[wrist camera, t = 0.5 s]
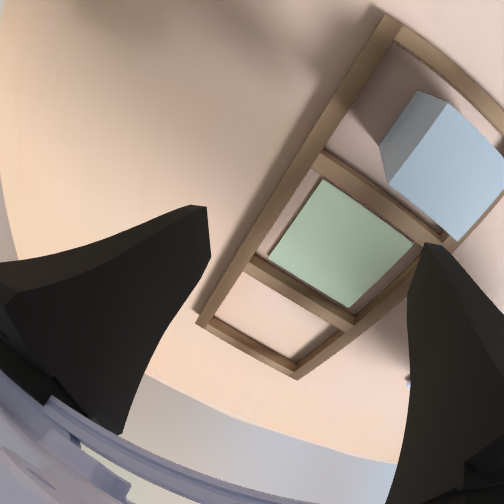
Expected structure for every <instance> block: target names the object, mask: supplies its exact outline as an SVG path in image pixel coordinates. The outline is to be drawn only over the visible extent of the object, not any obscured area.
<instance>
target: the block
mask: <svg viewBox="0 0 504 504" xmlns="http://www.w3.org/2000/svg"><path fill="white" fill-rule="evenodd" d="M379 150H380V154H381V158H382V162H383V166H384V170H385V174H386V178H387V183H388V185H390V186H391V187H392V188H393V189H395V190H396V191H397V192H399V193H400V194H401V195H403V196H404V197H405V198H406V199H408V200H409V201H410V202H412V203H413V204H414V205H415V206H416V207H418V208H419V209H420V210H421V211H423V212H424V213H425V214H426V215H427V216H429V217H430V218H431V219H432V220H433V221H435V222H436V223H437V224H438V225H439V226H440V227H442V228H443V229H444V230H445V231H446V232H447V233H448V234H450V235H451V236H452V237H453V238H454V239H455V240H456V241H457V242H458V241H459V240H460V238H461V237H462V236H463V235H464V234H465V233H466V232H467V231H468V230H469V229H470V228H471V227H472V225H473V224H474V223H475V222H476V221H477V220H478V219H479V218H480V217H481V215H482V214H483V213H484V212H485V211H486V210H487V208H488V207H489V206H490V205H491V204H492V203H493V201H494V200H495V199H496V198H497V197H498V195H499V194H500V193H501V192H502V190H503V189H504V157H503V156H502V155H501V154H500V153H499V152H498V151H497V150H496V149H495V147H494V146H493V145H492V144H491V143H490V142H489V141H488V140H487V139H486V138H485V137H484V136H483V135H482V134H481V133H480V132H479V131H478V130H477V129H476V128H475V127H474V126H473V125H472V124H471V123H470V122H469V121H468V120H467V119H466V118H465V117H464V116H463V115H462V114H460V113H459V112H458V111H457V110H456V109H455V108H454V107H453V106H452V105H450V104H449V103H448V102H446V101H443V100H441V99H439V98H436V97H434V96H431V95H429V94H426V93H424V92H421V91H419V90H417V91H416V93H415V94H414V96H413V97H412V99H411V100H410V102H409V103H408V104H407V106H406V107H405V109H404V110H403V112H402V113H401V115H400V116H399V117H398V119H397V120H396V122H395V123H394V125H393V126H392V127H391V129H390V130H389V132H388V133H387V134H386V136H385V137H384V139H383V140H382V141H381V143H380V144H379Z"/></svg>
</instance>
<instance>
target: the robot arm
mask: <svg viewBox="0 0 504 504" xmlns="http://www.w3.org/2000/svg"><path fill="white" fill-rule="evenodd" d="M210 258H211V249H210V239H209V228H208V218H207V207H204V206H196V205H188V206H184V207H181V208H178V209H176V210H173V211H171V212H168V213H166V214H163V215H161V216H159V217H156V218H154V219H152V220H149V221H147V222H145V223H143V224H140V225H138V226H135V227H133V228H130V229H128V230H126V231H123V232H121V233H118V234H116V235H113V236H111V237H108V238H106V239H103V240H100V241H97V242H94V243H91V244H88V245H85V246H82V247H78V248H74V249H71V250H67V251H63V252H60V253H56V254H52V255H47V256H42V257H37V258H31V259H26V260H19V261H10V262H1V263H0V504H135V503H133V502H132V501H130V500H128V499H126V495H127V493H128V492H129V490H130V488H131V484H130V483H129V482H127V481H126V480H124V479H123V478H121V477H119V476H118V475H116V474H115V473H113V472H112V471H110V470H109V469H108V468H106V467H105V466H104V465H102V464H101V463H100V462H99V461H97V460H96V459H94V458H93V457H91V456H90V455H88V454H87V453H85V452H84V451H83V450H81V445H80V443H82V444H83V445H85V446H86V447H88V448H90V449H91V450H93V451H95V452H96V453H98V454H99V455H101V456H103V457H104V458H106V459H108V460H109V461H111V462H113V463H115V464H116V465H118V466H120V467H122V468H123V469H126V470H127V471H129V472H131V473H133V474H135V475H137V476H139V477H141V478H143V479H145V480H147V481H149V482H151V483H153V484H155V485H157V486H159V487H162V488H164V489H166V490H169V491H171V492H173V493H175V494H178V495H180V496H183V497H185V498H188V499H190V500H193V501H195V502H198V503H201V504H316V503H311V502H305V501H300V500H294V499H290V498H285V497H280V496H276V495H271V494H268V493H264V492H260V491H256V490H252V489H248V488H245V487H242V486H238V485H235V484H232V483H228V482H225V481H222V480H219V479H216V478H213V477H210V476H207V475H205V474H202V473H199V472H197V471H194V470H191V469H189V468H186V467H183V466H181V465H179V464H176V463H173V462H171V461H169V460H167V459H165V458H162V457H160V456H158V455H156V454H153V453H151V452H149V451H147V450H145V449H143V448H141V447H139V446H137V445H134V444H133V443H131V442H129V441H127V440H125V439H123V438H121V437H119V436H117V435H119V434H122V432H123V429H124V425H125V422H126V419H127V416H128V413H129V410H130V407H131V405H132V402H133V399H134V396H135V394H136V392H137V389H138V387H139V384H140V382H141V379H142V377H143V374H144V372H145V370H146V368H147V366H148V364H149V361H150V359H151V357H152V355H153V353H154V351H155V349H156V347H157V345H158V343H159V341H160V339H161V337H162V336H163V334H164V332H165V331H166V329H167V327H168V326H169V324H170V323H171V321H172V320H173V318H174V317H175V315H176V314H177V312H178V311H179V310H180V308H181V307H182V305H183V304H184V302H185V301H186V299H187V298H188V297H189V295H190V294H191V292H192V291H193V289H194V288H195V286H196V285H197V283H198V282H199V280H200V279H201V277H202V275H203V273H204V271H205V269H206V267H207V265H208V262H209V260H210ZM407 329H408V342H409V357H410V380H409V381H408V382H407V387H408V388H410V397H409V406H408V414H407V421H406V427H405V433H404V438H403V444H402V448H401V452H400V457H399V461H398V465H397V469H396V472H395V476H394V479H393V482H392V485H391V488H390V491H389V494H388V497H387V500H386V503H385V504H504V315H503V313H502V312H501V311H500V310H499V309H498V308H497V307H496V306H495V305H494V304H493V302H492V301H491V300H490V299H489V298H488V297H487V296H486V295H485V293H484V292H483V291H482V290H481V289H480V288H479V286H478V285H477V284H476V283H475V282H474V280H473V279H472V278H471V277H470V276H469V275H468V273H467V272H466V271H465V270H464V269H463V267H462V266H461V265H460V264H459V263H458V262H457V260H456V259H455V258H454V257H453V256H452V255H451V254H450V253H449V252H448V251H447V250H446V249H445V248H444V247H443V246H442V245H437V244H432V243H427V242H425V243H424V246H423V249H422V252H421V255H420V258H419V261H418V264H417V267H416V270H415V273H414V276H413V279H412V281H411V284H410V287H409V289H408V292H407Z"/></svg>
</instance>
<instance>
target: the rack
mask: <svg viewBox="0 0 504 504" xmlns="http://www.w3.org/2000/svg"><path fill="white" fill-rule="evenodd" d="M392 42H394V43H395V44H397V45H398V46H400V47H401V48H403V49H404V50H406V51H407V52H408V53H410V54H411V55H413V56H414V57H415V58H417V59H418V60H419V61H421V62H422V63H423V64H425V65H426V66H427V67H429V68H430V69H431V70H432V71H434V72H435V73H436V74H437V75H439V76H440V77H441V78H442V79H444V80H445V81H446V82H447V83H448V84H449V85H451V86H452V87H453V88H454V89H455V90H456V91H457V92H459V93H460V94H461V95H462V96H463V97H464V98H465V99H466V100H467V101H468V102H469V103H471V104H472V105H473V106H474V107H475V108H476V109H477V110H478V111H479V112H480V113H481V114H482V115H483V116H484V117H485V118H486V119H487V120H488V121H489V122H490V123H491V124H492V125H493V127H494V128H495V129H496V130H497V131H498V132H499V133H500V134H501V135H502V136H503V137H504V111H503V110H502V109H501V108H500V107H499V106H498V104H497V103H496V102H495V101H494V100H493V99H492V98H491V97H490V96H489V95H488V94H487V93H486V92H485V91H484V90H483V89H482V88H481V87H480V86H479V85H478V84H477V83H475V82H474V81H473V80H472V79H471V78H470V77H469V76H468V75H467V74H466V73H465V72H463V71H462V70H461V69H460V68H459V67H458V66H457V65H455V64H454V63H453V62H452V61H451V60H449V59H448V58H447V57H446V56H445V55H443V54H442V53H441V52H440V51H438V50H437V49H436V48H434V47H433V46H432V45H431V44H429V43H428V42H427V41H425V40H424V39H423V38H421V37H420V36H418V35H417V34H416V33H414V32H413V31H411V30H410V29H408V28H407V27H405V26H404V25H402V24H401V23H399V22H398V21H396V20H395V19H393V18H392V17H390V16H388V15H387V14H385V15H384V17H383V19H382V20H381V22H380V23H379V25H378V26H377V28H376V29H375V31H374V33H373V34H372V36H371V37H370V39H369V40H368V42H367V43H366V45H365V47H364V48H363V50H362V51H361V53H360V54H359V56H358V58H357V59H356V61H355V62H354V64H353V65H352V67H351V69H350V70H349V72H348V73H347V75H346V77H345V78H344V80H343V81H342V83H341V84H340V86H339V88H338V89H337V91H336V92H335V94H334V96H333V97H332V99H331V100H330V102H329V104H328V105H327V107H326V108H325V110H324V112H323V113H322V115H321V116H320V118H319V120H318V121H317V123H316V124H315V126H314V128H313V129H312V131H311V132H310V134H309V136H308V137H307V139H306V141H305V142H304V144H303V145H302V147H301V149H300V150H299V152H298V153H297V155H296V157H295V158H294V160H293V162H292V163H291V165H290V166H289V168H288V170H287V171H286V173H285V175H284V176H283V178H282V179H281V181H280V183H279V184H278V186H277V188H276V189H275V191H274V193H273V194H272V196H271V197H270V199H269V201H268V202H267V204H266V206H265V207H264V209H263V211H262V212H261V214H260V216H259V217H258V219H257V220H256V222H255V224H254V225H253V227H252V229H251V230H250V232H249V234H248V235H247V237H246V239H245V240H244V242H243V244H242V245H241V247H240V249H239V250H238V252H237V254H236V255H235V257H234V259H233V260H232V262H231V264H230V265H229V267H228V269H227V270H226V272H225V274H224V275H223V277H222V279H221V280H220V282H219V284H218V285H217V287H216V289H215V290H214V292H213V294H212V295H211V297H210V299H209V300H208V302H207V304H206V305H205V307H204V309H203V310H202V312H201V314H200V315H199V317H198V319H197V321H196V322H195V324H197V325H198V326H200V327H202V328H203V329H205V330H207V331H208V332H210V333H212V334H213V335H215V336H217V337H218V338H220V339H222V340H224V341H225V342H227V343H229V344H231V345H232V346H234V347H236V348H238V349H239V350H241V351H243V352H245V353H246V354H248V355H250V356H252V357H254V358H255V359H257V360H259V361H261V362H263V363H265V364H266V365H268V366H270V367H272V368H274V369H276V370H278V371H280V372H281V373H283V374H285V375H287V376H289V377H291V378H293V379H295V380H299V379H300V378H302V377H303V376H305V375H306V374H308V373H309V372H310V371H312V370H313V369H315V368H316V367H318V366H319V365H320V364H322V363H323V362H325V361H326V360H327V359H329V358H330V357H332V356H333V355H334V354H336V353H337V352H338V351H340V350H341V349H342V348H344V347H345V346H346V345H348V344H349V343H350V342H351V341H353V340H354V339H355V338H357V337H358V336H359V335H360V334H362V333H363V332H364V331H366V330H367V329H368V328H369V327H371V326H372V325H373V324H374V323H375V322H377V321H378V320H379V319H380V318H381V317H383V316H384V315H385V314H386V313H387V312H389V311H390V310H391V309H392V308H393V307H395V306H396V305H397V304H398V303H399V302H400V301H401V300H403V299H404V298H405V297H406V296H407V292H408V289H409V287H410V284H411V281H412V279H413V276H414V273H415V270H416V267H417V264H418V261H419V258H420V256H419V257H418V258H417V259H416V260H415V261H414V262H413V263H412V264H411V265H410V266H409V267H408V268H407V269H406V270H405V271H404V272H403V273H402V274H400V275H399V276H398V277H397V278H396V279H395V280H394V281H393V282H392V283H391V284H390V285H389V286H388V287H387V288H386V289H385V290H384V291H383V292H381V293H380V294H379V295H378V296H377V297H376V298H375V299H374V300H373V301H372V302H370V303H369V304H368V305H367V306H366V307H365V308H364V309H363V310H361V311H360V312H359V313H358V314H357V315H356V316H354V315H352V314H350V313H349V312H347V311H345V310H344V309H342V308H340V307H339V306H337V305H336V304H334V303H332V302H331V301H329V300H327V299H326V298H324V297H323V296H321V295H319V294H318V293H316V292H314V291H313V290H311V289H309V288H308V287H306V286H305V285H303V284H301V283H300V282H298V281H296V280H295V279H293V278H292V277H290V276H288V275H287V274H285V273H283V272H282V271H280V270H279V269H277V268H275V267H274V266H272V265H270V264H269V263H267V262H266V261H264V260H262V259H261V258H259V257H257V256H256V255H254V253H255V252H256V250H257V249H258V247H259V245H260V244H261V242H262V241H263V239H264V238H265V236H266V235H267V233H268V232H269V230H270V229H271V227H272V226H273V224H274V223H275V221H276V220H277V218H278V217H279V215H280V213H281V212H282V210H283V209H284V207H285V206H286V204H287V203H288V201H289V200H290V198H291V197H292V195H293V194H294V192H295V191H296V189H297V188H298V186H299V184H300V183H301V181H302V180H303V178H304V177H305V175H306V174H307V172H308V171H309V169H310V168H312V169H314V170H315V171H317V172H318V173H320V174H321V175H323V176H325V177H326V178H328V179H329V180H331V181H332V182H334V183H335V184H337V185H338V186H340V187H341V188H343V189H344V190H346V191H347V192H348V193H350V194H351V195H353V196H354V197H356V198H357V199H359V200H360V201H361V202H363V203H364V204H366V205H367V206H369V207H370V208H371V209H373V210H374V211H376V212H377V213H378V214H380V215H381V216H382V217H384V218H385V219H386V220H388V221H389V222H391V223H392V224H393V225H395V226H396V227H397V228H399V229H400V230H401V231H402V232H404V233H405V234H406V235H408V236H409V237H410V238H412V239H413V240H414V241H415V242H417V243H418V244H419V245H420V246H422V247H423V246H424V243H425V242H427V243H432V244H437V245H442V246H443V247H444V248H445V249H446V250H447V251H448V252H449V253H450V254H451V253H452V252H453V251H454V250H455V249H456V248H457V247H458V246H459V245H460V244H461V243H462V242H463V241H464V240H465V239H466V238H467V237H468V236H469V235H470V233H471V232H472V231H473V230H474V229H475V228H476V227H477V226H478V225H479V224H480V222H481V221H482V220H483V219H484V218H485V217H486V216H487V215H488V213H489V212H490V211H491V210H492V209H493V208H494V206H495V205H496V204H497V203H498V202H499V200H500V199H501V198H502V197H503V196H504V189H503V190H502V192H501V193H500V194H499V195H498V197H497V198H496V199H495V200H494V201H493V203H492V204H491V205H490V206H489V207H488V208H487V210H486V211H485V212H484V213H483V214H482V215H481V217H480V218H479V219H478V220H477V221H476V222H475V223H474V224H473V225H472V227H471V228H470V229H469V230H468V231H467V232H466V233H465V234H464V235H463V236H462V237H461V238H460V240H459V241H458V242H457V241H456V240H455V239H454V238H453V237H452V236H451V235H450V234H448V233H447V232H446V231H445V230H443V231H442V233H441V234H440V235H439V234H437V233H436V232H435V231H434V230H433V229H432V228H430V227H429V226H428V225H427V224H426V223H424V222H423V221H422V220H421V219H419V218H418V217H417V216H416V215H414V214H413V213H412V212H411V211H409V210H408V209H407V208H406V207H404V206H403V205H402V204H400V203H399V202H398V201H397V200H395V199H394V198H393V197H391V196H390V195H389V194H387V193H386V192H385V191H383V190H382V189H380V188H379V187H378V186H376V185H375V184H374V183H372V182H371V181H369V180H368V179H367V178H365V177H364V176H362V175H361V174H360V173H358V172H357V171H355V170H354V169H352V168H351V167H349V166H348V165H346V164H345V163H343V162H342V161H340V160H339V159H337V158H336V157H334V156H333V155H331V154H330V153H328V152H327V151H325V150H324V149H323V148H324V146H325V145H326V143H327V142H328V140H329V139H330V137H331V136H332V134H333V132H334V131H335V129H336V128H337V126H338V125H339V123H340V122H341V120H342V119H343V117H344V116H345V114H346V113H347V111H348V109H349V108H350V106H351V105H352V103H353V102H354V100H355V99H356V97H357V96H358V94H359V93H360V91H361V90H362V88H363V86H364V85H365V83H366V82H367V80H368V79H369V77H370V76H371V74H372V73H373V71H374V70H375V68H376V66H377V65H378V63H379V62H380V60H381V59H382V57H383V56H384V54H385V53H386V51H387V50H388V48H389V46H390V45H391V43H392ZM413 245H414V243H413V242H412V241H411V240H410V239H408V238H407V237H406V236H404V235H403V234H402V233H400V232H399V231H398V230H396V229H395V228H394V227H392V226H391V225H390V224H388V223H387V222H386V221H384V220H383V219H382V218H380V217H379V216H377V215H376V214H375V213H373V212H372V211H371V210H369V209H368V208H366V207H365V206H363V205H362V204H361V203H359V202H358V201H356V200H355V199H353V198H352V197H351V196H349V195H348V194H346V193H345V192H343V191H342V190H340V189H339V188H337V187H336V186H334V185H333V184H331V183H330V182H328V181H327V180H325V179H324V178H323V179H322V181H321V182H320V184H319V185H318V187H317V188H316V189H315V191H314V192H313V194H312V195H311V197H310V198H309V200H308V201H307V202H306V204H305V205H304V207H303V208H302V210H301V211H300V213H299V214H298V215H297V217H296V218H295V220H294V221H293V223H292V224H291V225H290V227H289V228H288V230H287V231H286V233H285V234H284V235H283V237H282V238H281V240H280V241H279V243H278V244H277V245H276V247H275V248H274V250H273V251H272V252H271V254H270V255H269V257H268V259H270V260H271V261H273V262H274V263H276V264H278V265H279V266H281V267H283V268H284V269H286V270H287V271H289V272H291V273H292V274H294V275H296V276H297V277H299V278H300V279H302V280H304V281H305V282H307V283H309V284H310V285H312V286H313V287H315V288H317V289H318V290H320V291H321V292H323V293H325V294H326V295H328V296H330V297H331V298H333V299H334V300H336V301H338V302H339V303H341V304H343V305H344V306H346V307H347V308H349V307H350V306H352V305H353V304H354V303H355V302H356V301H357V300H358V299H359V298H360V297H361V296H362V295H363V294H364V293H365V292H367V291H368V290H369V289H370V288H371V287H372V286H373V285H374V284H375V283H376V282H377V281H378V280H379V279H380V278H381V277H382V276H383V275H384V274H385V273H386V272H387V271H388V270H389V269H390V268H391V267H392V266H393V265H394V264H395V263H396V262H397V261H398V260H399V259H400V258H401V257H402V256H403V255H404V254H405V253H406V252H407V251H408V250H409V249H410V248H411V247H412V246H413ZM242 271H243V272H245V273H247V274H248V275H250V276H252V277H253V278H255V279H256V280H258V281H260V282H261V283H263V284H265V285H266V286H268V287H270V288H271V289H273V290H275V291H276V292H278V293H280V294H281V295H283V296H285V297H286V298H288V299H290V300H291V301H293V302H295V303H296V304H298V305H300V306H301V307H303V308H305V309H306V310H308V311H310V312H311V313H313V314H315V315H316V316H318V317H320V318H322V319H323V320H325V321H327V322H328V323H330V324H332V325H333V326H335V327H337V328H339V330H338V331H337V332H336V333H335V334H333V335H332V336H331V337H330V338H328V339H327V340H326V341H325V342H324V343H322V344H321V345H320V346H319V347H317V348H316V349H315V350H314V351H312V352H311V353H310V354H308V355H307V356H306V357H305V358H303V359H302V360H301V361H299V362H298V363H297V364H296V363H294V362H292V361H290V360H289V359H287V358H285V357H283V356H281V355H279V354H278V353H276V352H274V351H272V350H270V349H268V348H267V347H265V346H263V345H261V344H260V343H258V342H256V341H254V340H252V339H251V338H249V337H247V336H245V335H244V334H242V333H240V332H239V331H237V330H235V329H233V328H232V327H230V326H228V325H227V324H225V323H223V322H222V321H220V320H218V319H217V318H215V317H213V315H214V314H215V312H216V311H217V309H218V308H219V306H220V305H221V303H222V302H223V300H224V299H225V297H226V296H227V294H228V293H229V291H230V290H231V288H232V287H233V285H234V283H235V282H236V280H237V279H238V277H239V276H240V274H241V273H242Z"/></svg>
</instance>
